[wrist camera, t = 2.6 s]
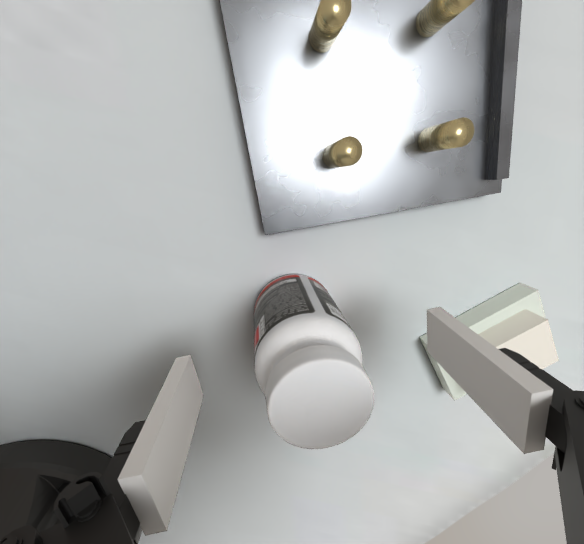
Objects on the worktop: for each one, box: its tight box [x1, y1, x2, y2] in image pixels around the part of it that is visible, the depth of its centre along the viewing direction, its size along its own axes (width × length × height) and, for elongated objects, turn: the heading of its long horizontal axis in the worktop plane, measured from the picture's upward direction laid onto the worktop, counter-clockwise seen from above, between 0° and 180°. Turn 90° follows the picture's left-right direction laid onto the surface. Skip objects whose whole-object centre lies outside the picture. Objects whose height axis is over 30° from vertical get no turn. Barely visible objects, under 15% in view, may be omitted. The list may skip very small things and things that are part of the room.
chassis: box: [220, 0, 522, 235], centre depth 16 cm, size 16×14×4 cm
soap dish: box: [420, 283, 559, 401], centre depth 23 cm, size 9×6×3 cm, turn 119°
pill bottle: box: [254, 274, 374, 449], centre depth 17 cm, size 6×6×10 cm
